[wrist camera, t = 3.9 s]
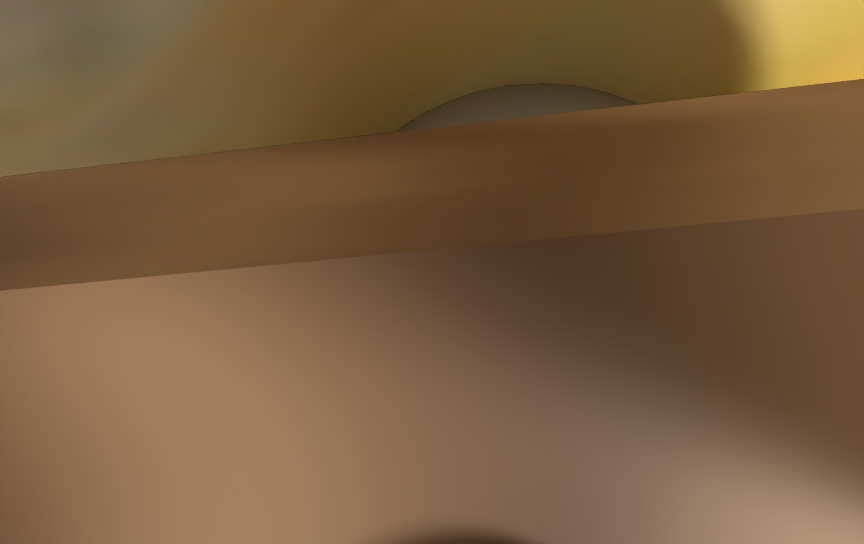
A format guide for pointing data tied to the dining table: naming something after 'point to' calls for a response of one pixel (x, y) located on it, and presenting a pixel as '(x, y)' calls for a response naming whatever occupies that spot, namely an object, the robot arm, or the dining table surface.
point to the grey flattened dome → (515, 105)
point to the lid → (448, 335)
